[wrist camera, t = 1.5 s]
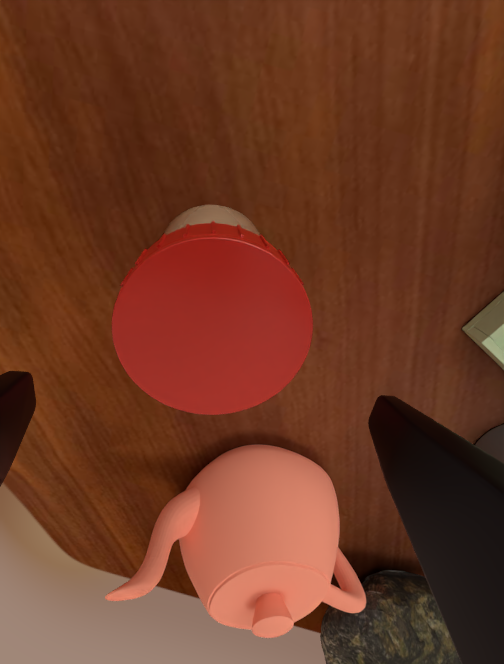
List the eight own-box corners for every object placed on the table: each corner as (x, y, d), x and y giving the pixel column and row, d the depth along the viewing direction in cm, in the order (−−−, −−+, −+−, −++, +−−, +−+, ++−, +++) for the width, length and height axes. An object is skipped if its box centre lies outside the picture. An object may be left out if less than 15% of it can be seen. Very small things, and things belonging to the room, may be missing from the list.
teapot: (299, 550, 33) (329, 684, 25) (111, 509, 28) (69, 664, 19) (374, 466, 29) (441, 595, 20) (169, 398, 23) (146, 537, 15)
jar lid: (193, 177, 11) (189, 183, 9) (333, 293, 14) (355, 318, 12) (91, 326, 13) (70, 357, 11) (230, 404, 16) (233, 441, 14)
